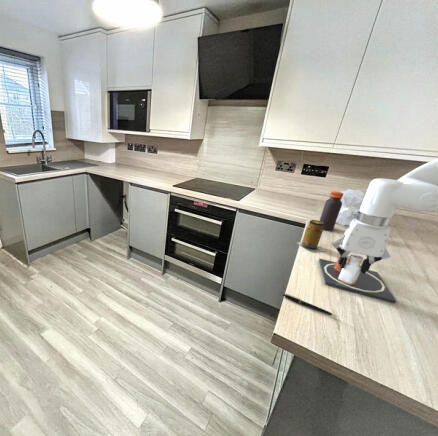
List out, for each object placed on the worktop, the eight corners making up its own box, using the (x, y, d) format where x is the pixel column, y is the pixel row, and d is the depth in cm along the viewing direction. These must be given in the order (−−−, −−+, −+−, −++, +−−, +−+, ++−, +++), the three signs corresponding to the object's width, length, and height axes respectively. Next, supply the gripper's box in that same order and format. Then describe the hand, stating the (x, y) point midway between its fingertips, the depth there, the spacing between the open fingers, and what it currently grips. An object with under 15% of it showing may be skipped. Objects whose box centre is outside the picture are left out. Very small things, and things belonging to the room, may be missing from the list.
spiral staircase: (329, 230, 134) (335, 217, 151) (371, 227, 121) (372, 213, 138) (321, 200, 132) (328, 190, 149) (363, 193, 119) (365, 183, 136)
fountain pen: (338, 317, 66) (339, 313, 66) (338, 320, 65) (339, 316, 65) (281, 295, 74) (283, 291, 74) (281, 297, 73) (282, 293, 73)
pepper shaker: (356, 281, 80) (366, 257, 77) (350, 285, 78) (361, 260, 75) (342, 275, 84) (352, 252, 80) (337, 278, 82) (346, 255, 78)
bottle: (316, 228, 126) (328, 192, 119) (318, 224, 131) (330, 190, 123) (331, 232, 122) (344, 195, 114) (333, 228, 126) (346, 192, 119)
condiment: (309, 242, 110) (317, 218, 106) (325, 251, 102) (334, 226, 98) (296, 243, 109) (303, 219, 104) (311, 252, 101) (319, 226, 97)
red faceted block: (347, 267, 88) (351, 258, 87) (350, 273, 85) (354, 264, 83) (333, 264, 90) (336, 255, 89) (335, 270, 87) (339, 260, 85)
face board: (376, 274, 87) (377, 271, 87) (395, 303, 72) (396, 300, 72) (318, 260, 95) (319, 258, 95) (324, 284, 80) (325, 281, 80)
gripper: (340, 217, 73) (322, 266, 80) (416, 229, 66) (388, 283, 72) (336, 210, 79) (320, 257, 86) (404, 221, 72) (380, 271, 79)
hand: (351, 268), depth 79 cm, fingers closed on pepper shaker, 5 cm apart
